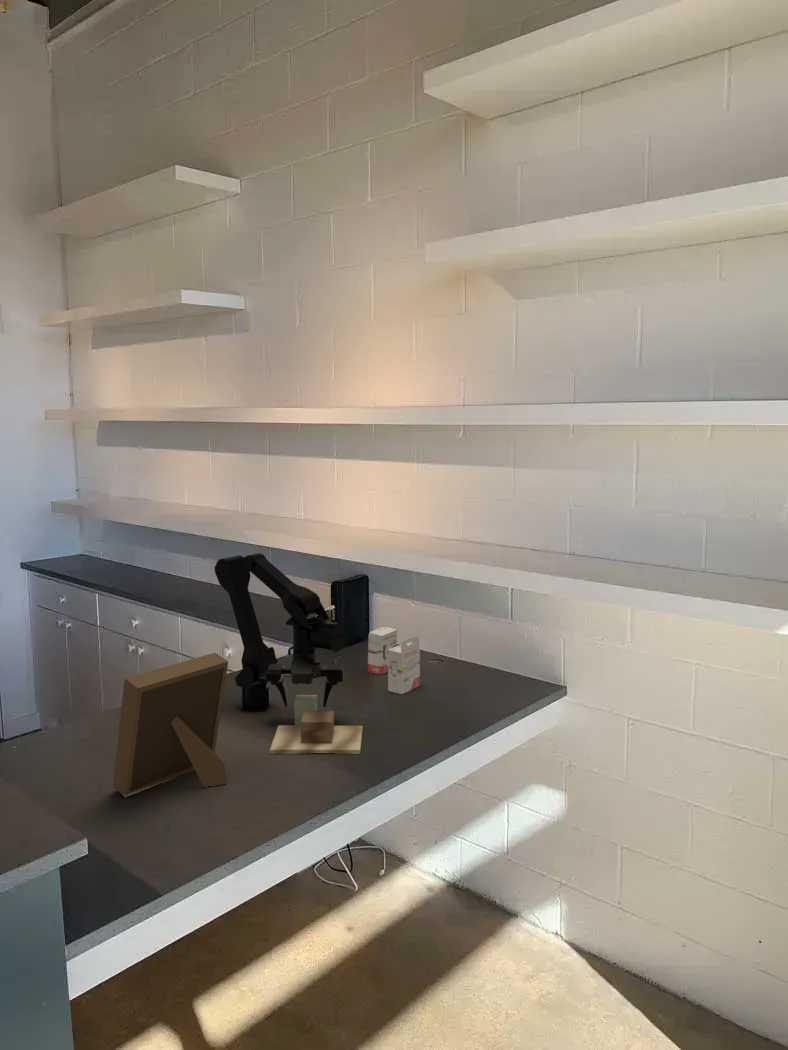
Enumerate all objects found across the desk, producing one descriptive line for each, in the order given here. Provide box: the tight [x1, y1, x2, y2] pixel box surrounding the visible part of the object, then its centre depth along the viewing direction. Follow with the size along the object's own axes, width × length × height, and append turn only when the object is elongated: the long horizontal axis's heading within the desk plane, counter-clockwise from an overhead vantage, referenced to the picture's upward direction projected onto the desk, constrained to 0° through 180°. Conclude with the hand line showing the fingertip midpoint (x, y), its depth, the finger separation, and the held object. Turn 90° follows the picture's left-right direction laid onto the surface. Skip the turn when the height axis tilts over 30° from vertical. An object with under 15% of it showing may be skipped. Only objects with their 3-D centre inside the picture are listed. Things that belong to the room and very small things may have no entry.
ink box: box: [367, 626, 398, 676], centre depth 246 cm, size 9×5×12 cm, turn 147°
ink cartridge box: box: [387, 634, 421, 695], centre depth 229 cm, size 9×5×15 cm, turn 143°
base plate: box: [269, 710, 364, 755], centre depth 195 cm, size 20×14×6 cm
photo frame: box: [112, 652, 229, 795], centre depth 171 cm, size 15×22×25 cm
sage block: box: [293, 694, 318, 726], centre depth 206 cm, size 5×5×6 cm
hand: (305, 706), depth 206 cm, fingers open, 9 cm apart
